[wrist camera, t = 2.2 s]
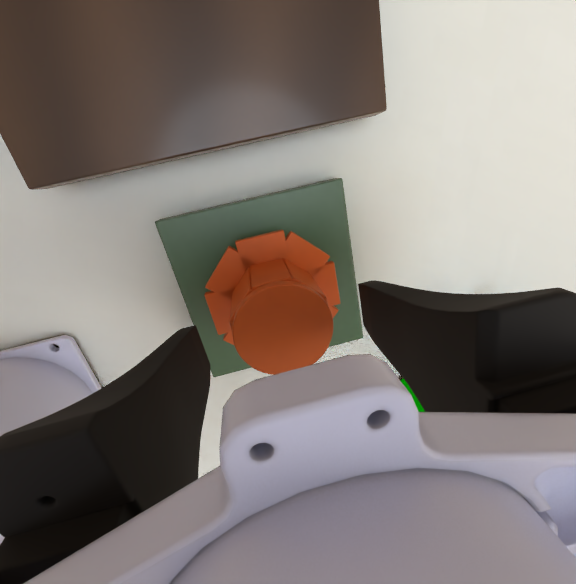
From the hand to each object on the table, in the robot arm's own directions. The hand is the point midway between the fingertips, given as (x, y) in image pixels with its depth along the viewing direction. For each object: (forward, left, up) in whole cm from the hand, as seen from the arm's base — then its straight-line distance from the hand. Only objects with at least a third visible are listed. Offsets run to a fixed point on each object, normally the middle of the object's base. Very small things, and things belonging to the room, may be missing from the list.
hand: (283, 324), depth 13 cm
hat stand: (0, 0, -6) cm, 6 cm away
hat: (0, 0, -3) cm, 3 cm away
